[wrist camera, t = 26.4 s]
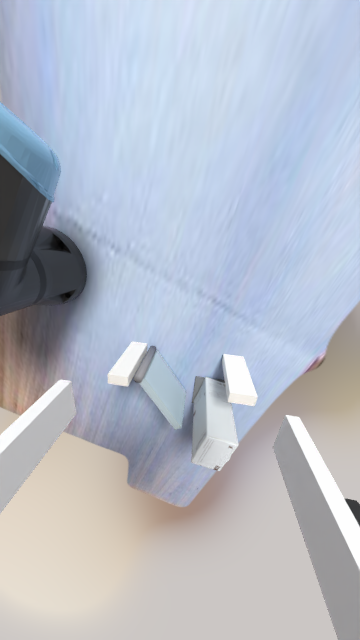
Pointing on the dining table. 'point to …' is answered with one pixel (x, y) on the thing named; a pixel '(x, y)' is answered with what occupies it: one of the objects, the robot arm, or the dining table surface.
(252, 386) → the wall
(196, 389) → the mat
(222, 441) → the skincare box
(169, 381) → the door
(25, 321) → the dining table surface
